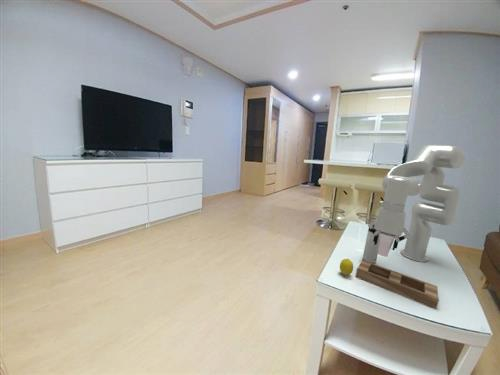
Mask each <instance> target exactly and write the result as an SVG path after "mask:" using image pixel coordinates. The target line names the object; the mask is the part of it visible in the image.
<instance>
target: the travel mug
mask: <svg viewBox="0 0 500 375" xmlns="http://www.w3.org/2000/svg"><path fill="white" fill-rule="evenodd" d="M373 228H374V225H373ZM374 229H375V228H374ZM378 235H379V234H378ZM373 240H374V234H373V232H372V231H371V229H370V228H369V227H368V228H367V234H366V239H365V244H364V249H363V255H362V259H361V261H362V260H364V261H367V262H370V263H373V264H375V265H377V264H376V263H377V259H378V255H379V254H378V242H379V236H378V241H377V244H376V245H374V243H375V242H373Z"/></svg>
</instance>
